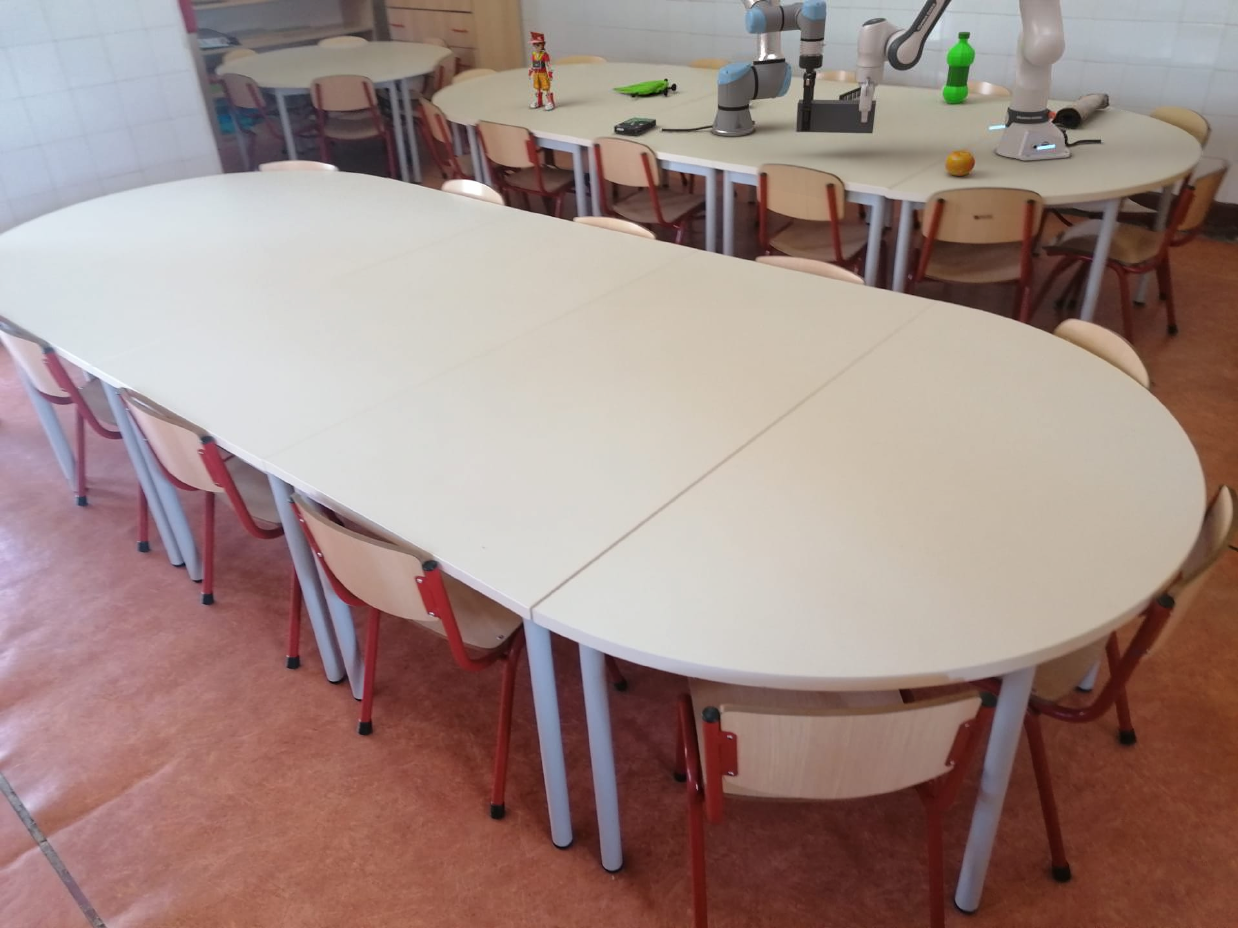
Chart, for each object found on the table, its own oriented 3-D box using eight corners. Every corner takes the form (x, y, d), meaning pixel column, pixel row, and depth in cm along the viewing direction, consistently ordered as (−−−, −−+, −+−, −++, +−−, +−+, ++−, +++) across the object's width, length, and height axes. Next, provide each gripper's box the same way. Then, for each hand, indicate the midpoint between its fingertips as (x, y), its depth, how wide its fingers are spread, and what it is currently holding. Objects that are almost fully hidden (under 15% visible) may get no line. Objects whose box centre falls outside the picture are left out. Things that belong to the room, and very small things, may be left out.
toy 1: (525, 109, 381) (517, 32, 364) (534, 104, 388) (527, 28, 371) (550, 110, 377) (543, 32, 360) (559, 105, 384) (553, 28, 367)
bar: (795, 132, 302) (797, 103, 297) (797, 128, 306) (799, 99, 301) (872, 133, 296) (875, 104, 291) (873, 129, 300) (876, 100, 295)
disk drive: (637, 136, 338) (656, 126, 348) (636, 129, 336) (656, 118, 346) (613, 134, 342) (633, 123, 352) (613, 126, 341) (633, 116, 351)
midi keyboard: (840, 109, 355) (842, 95, 352) (838, 108, 355) (839, 95, 353) (863, 99, 365) (864, 86, 362) (860, 99, 366) (861, 86, 363)
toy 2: (686, 85, 398) (631, 84, 414) (685, 72, 395) (629, 72, 411) (651, 104, 381) (596, 103, 397) (650, 92, 378) (594, 91, 394)
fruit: (939, 166, 278) (957, 142, 275) (940, 168, 286) (957, 145, 283) (962, 181, 277) (980, 158, 274) (962, 183, 285) (979, 160, 282)
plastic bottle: (973, 101, 354) (984, 32, 339) (955, 106, 349) (966, 36, 335) (952, 97, 361) (962, 29, 346) (934, 102, 356) (944, 33, 342)
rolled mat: (1076, 98, 337) (1101, 81, 329) (1090, 118, 338) (1115, 102, 330) (1045, 119, 320) (1071, 102, 312) (1060, 141, 321) (1085, 124, 312)
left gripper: (820, 60, 282) (815, 136, 295) (825, 48, 296) (820, 121, 309) (796, 60, 284) (792, 135, 297) (802, 48, 298) (798, 121, 311)
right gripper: (877, 82, 280) (873, 127, 288) (880, 68, 296) (875, 111, 304) (857, 81, 281) (852, 127, 289) (860, 68, 297) (856, 111, 305)
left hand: (806, 128), depth 303 cm, fingers closed on bar, 5 cm apart
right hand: (864, 119), depth 296 cm, fingers closed on bar, 5 cm apart
